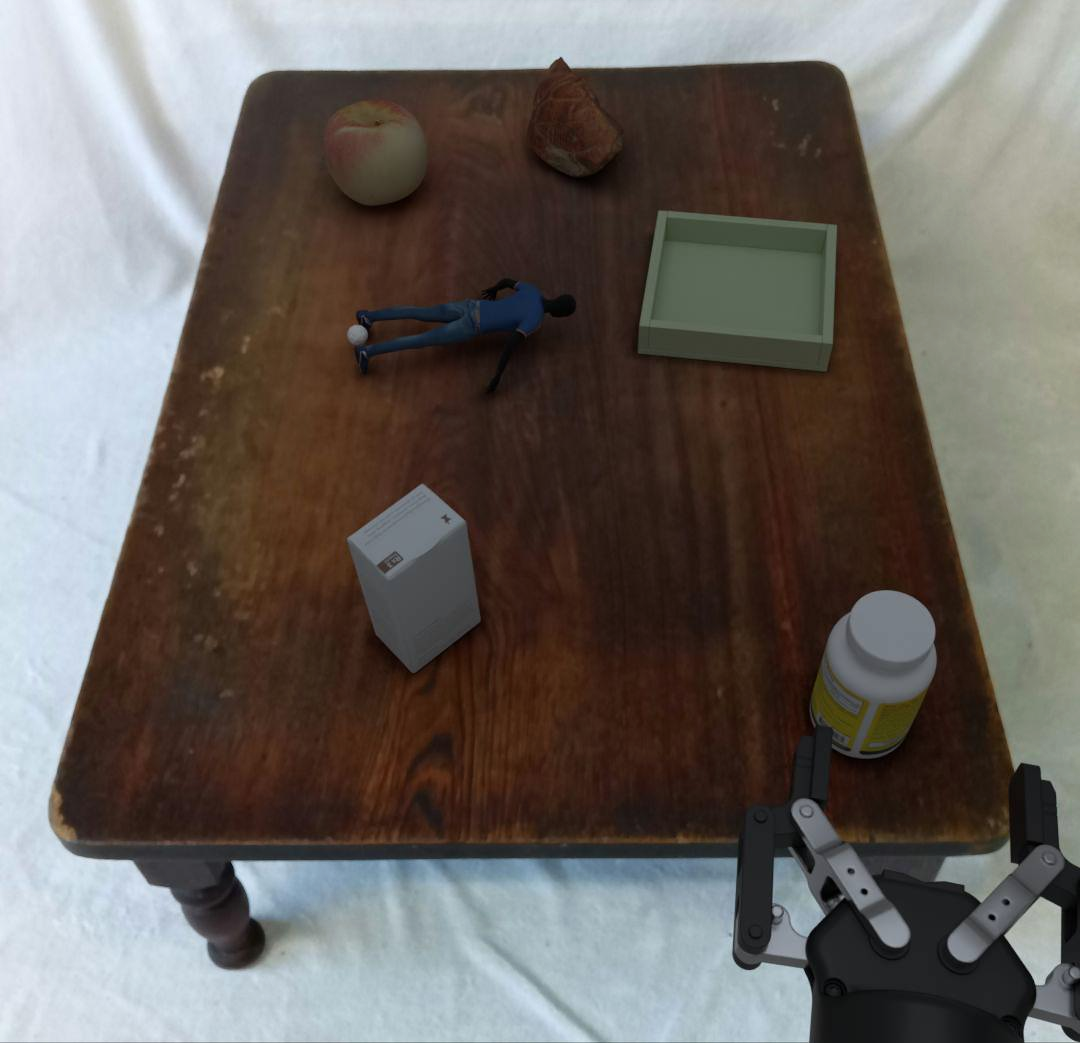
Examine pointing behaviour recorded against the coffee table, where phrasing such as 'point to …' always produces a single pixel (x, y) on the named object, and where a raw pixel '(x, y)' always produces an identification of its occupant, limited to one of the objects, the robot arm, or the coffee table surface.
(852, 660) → the pill bottle
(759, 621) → the coffee table surface
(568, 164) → the fossil
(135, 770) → the coffee table surface
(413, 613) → the cosmetic box
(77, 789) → the coffee table surface
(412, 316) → the person figurine
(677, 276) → the tray
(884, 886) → the robot arm
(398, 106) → the apple
